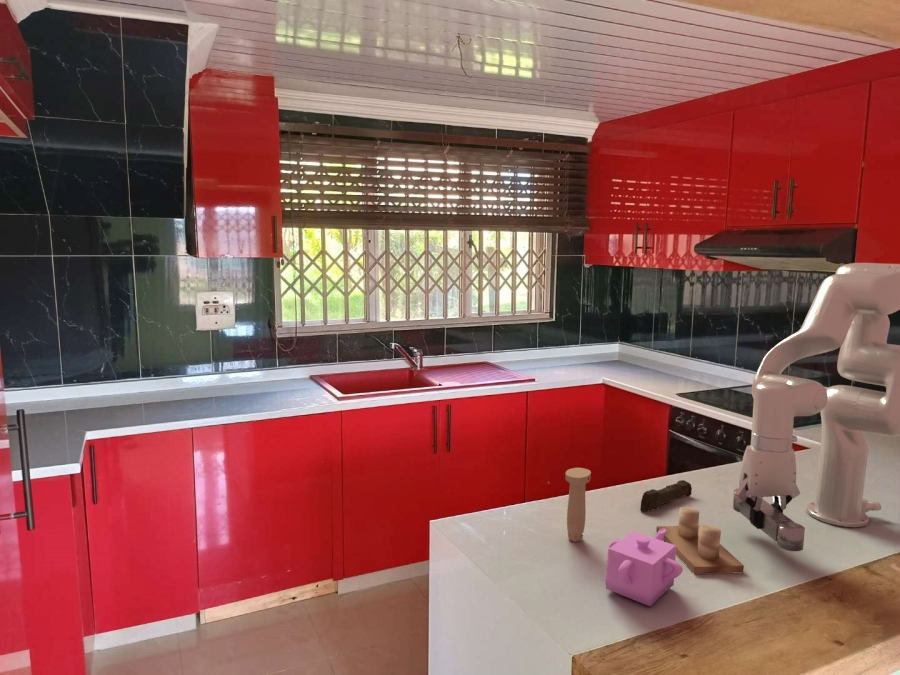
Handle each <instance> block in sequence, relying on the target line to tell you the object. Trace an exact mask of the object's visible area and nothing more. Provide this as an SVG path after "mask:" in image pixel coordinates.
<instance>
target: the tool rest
mask: <svg viewBox="0 0 900 675" xmlns="http://www.w3.org/2000/svg"><path fill="white" fill-rule="evenodd" d="M699 522H700V511H699V510H698V509H697V508H694V507H690V506H682V507H680V508H679V511H678V525H670V526H669V525H660V526H659V525H658V526H656V528H655V530H656V532H657V533H658V531H659V530H660V529H666V532H665V534H664V538H663V540H664V541H665V542H667V543H670V544H673V545H676V556H677V557H678V558H679V560H680V561H681V562H682V561H683V562H684V563H685V564H686V565H687V566H686V565H685V564H684V563H683V562H682V563H683V564H684V565H685V566H686V567H687V568H688V567H689V568H688V569H689V570H690V571H691V573H692V574H693V573H694V574H693V575H696V574H695V573H717V574H734V573H733V572H743V573H744V566H745V565H744V564H743V563H742V562H741V561H739V559H738V558H737V557H735V556H734V555H733V554H732V553H731V552H730V551H729V550H727V549H726V547H724V546H723V545H722V544H721V534H722V532H721V529H720V528H719V527H717V526H714V525H711V524H710V525H709V524H703V525H701V524H699ZM656 532H655V533H656ZM657 533H656V534H657Z"/></svg>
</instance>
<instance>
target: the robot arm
mask: <svg viewBox="0 0 900 675" xmlns="http://www.w3.org/2000/svg"><path fill="white" fill-rule="evenodd" d="M898 311H900V263H878V262H877V263H876V262H852V263H851V262H850V263H847V264H843V265H841V266H839V267H838V268H837V270H836V272H835V274H831V275H829V276H828V277H827V276H826V278H824V280H823V281H822V282H821V284H820V286H819V288H818V291H817V292H816V294H815V297H814V298H813V301H812V303H811V306H810V308H809V309H808V312H807V313H806V316H805V317H804V318H805V319H804V321H803V323H802V325H801V327H800V329H798V330H797V331H796V332H794V333H793V334H790V335H789V336H787V337H786V338H784V339H783V340H781V341H780V342H778V343H777V344H775V346H774V347H772V348H771V349H770V350H769V351H768V352H767V353H766V354H765V355H764V357H763V358H762V360H761V362H760V364H759V367H758V369H757V371H756V373H755V375H754V379H753V380H752V384H751V395H752V398H753V404H752V421H751V422H752V423H751V434H750V435H751V438H750V445H746V448H745V450H744V453H743V457H742V461H741V467H740V474H739V487H738V488H737V489H738V490H737V491H736V493H735V495H736V496H737V497H738V498H740V499H742V500H743V501H745V502H746V503H747V504H748V505H749V506H750V518H749V519H750V520H749V522H750V524H751V525H752V526H754V527H755V528H756V530H761V526H762V511H761V510H760V508H761V503H762V499H763V498H770V497H772V502H773V503H770V505H772V506H773V507H774V508H776V509H777V510H779V511H780V512H781V513H783V514H784V510H786V509H787V505H788V504H789V503H790V502H791V501H792V500H793V499H795V498H796V497H798V496H800V495H801V491H800V489H799V488H798V485H797V463H796V462H797V460H796V454H795V450H794V449H793V443H796V442H797V441H798V437H797V435H794V434H793V433H794V420H795V417H810V416H814V415H817V414H819V413H820V417H821V419H820V420H821V421H820V423H821V437H820V438H821V439H820V440H821V441H820V450H819V456H818V469H817V478H816V487H815V496H814V497H815V498H814V501H813V502H810V503H808V504H807V505H806V512H807V514H808V515H810V516H811V517H812V518H814V519H816V520H818V521H821V522H824V523H826V524H830V525H833V526H838V527H843V528H844V527H845V528H861V527H865V526H867V525H868V524H869V515H868V514H866V513H868V512H869V511H873V512H874V511H876V512H877V511H881V510H882V505H881V503H880V502H877V501H875V502H871V501H870V502H868V500H867V499H865V498H864V494H865V493H864V492H865V484H866V475H867V474H866V473H867V468H868V467H867V466H868V457H869V445H868V442H867V439H866V438H865V436H864V434H863V432H867V433H870V434H874V435H879V436H884V437H890V438H897V437H900V345H898V344H891V343H888V342H887V341H888V335H889V332H890V326H891V325H890V324H891V322H890V318H889V316H888V315H892V314H894V313H896V312H898ZM837 349H839V352H838V358H837V364H836V365H837V366H836V368H837V373H838V374H839V375H840V377H842V378H845V379H847V380H849V381H855V382H858V383H859V382H860V383H864V384H872V385H876V386H882V387H885V389H886V390H885V391H881V390H880V391H879V390H875V389H870V388H869V389H868V388H865V387H864V388H863V387H857V386H852V385H845V384H837V385H832V386H829V387H828V388H826V387H825V386H824V385H823V384H822V383H820V382H818V381H816V380H814V379H808V378H803V377H798V376H793V375H788V374H782V373H783V371H784V370H785V369H786V368H788V366H790V365H791V364H793V363H795V362H796V361H798V360H801V359H803V358H807V357H812V356H816V355H821V354H824V353H828V352H832V351H835V350H837ZM748 490H749V496H747V495H746V492H747V491H748ZM763 500H764V499H763Z"/></svg>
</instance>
